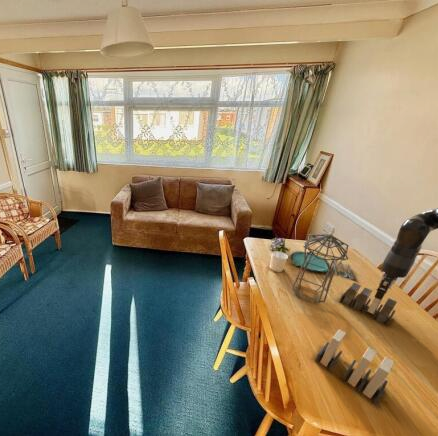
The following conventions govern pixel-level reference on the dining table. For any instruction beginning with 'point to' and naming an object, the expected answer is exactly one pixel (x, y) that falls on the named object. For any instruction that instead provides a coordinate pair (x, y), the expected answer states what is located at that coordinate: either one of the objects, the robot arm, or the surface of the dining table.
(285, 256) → the white cup
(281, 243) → the purple flower bunch
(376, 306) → the white book
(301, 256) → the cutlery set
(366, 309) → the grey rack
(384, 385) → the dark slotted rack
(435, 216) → the robot arm
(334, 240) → the geometric lantern
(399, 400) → the dining table surface
